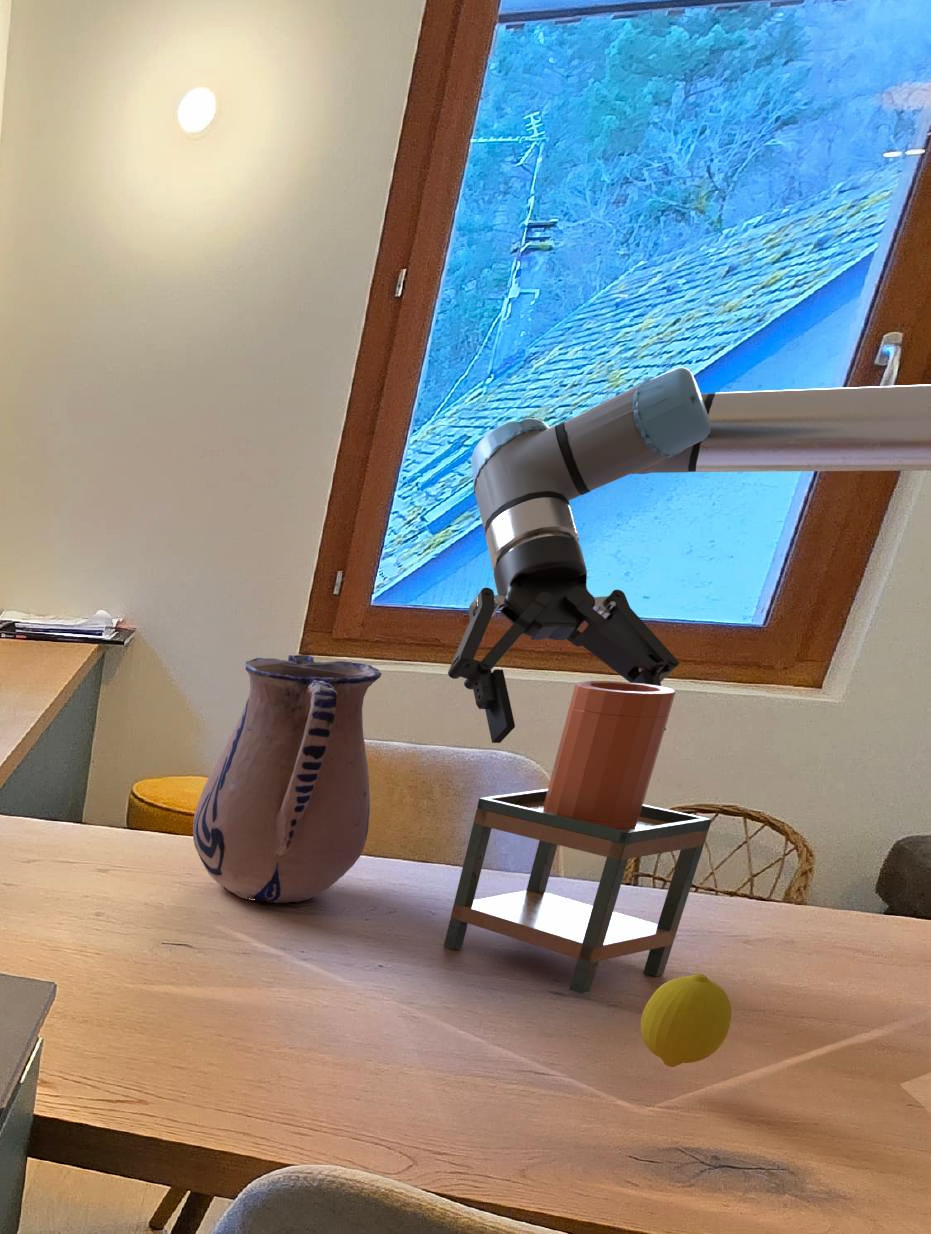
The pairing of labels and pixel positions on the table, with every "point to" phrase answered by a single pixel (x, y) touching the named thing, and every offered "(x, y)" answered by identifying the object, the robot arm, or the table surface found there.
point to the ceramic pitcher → (289, 783)
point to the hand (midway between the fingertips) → (578, 736)
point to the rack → (567, 920)
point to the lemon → (686, 1020)
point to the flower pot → (608, 751)
